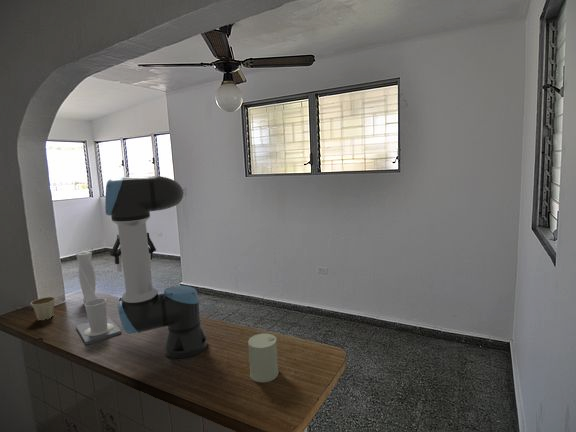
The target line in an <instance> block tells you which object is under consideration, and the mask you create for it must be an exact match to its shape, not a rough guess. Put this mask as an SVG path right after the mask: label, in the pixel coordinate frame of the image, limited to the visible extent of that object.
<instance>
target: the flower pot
mask: <svg viewBox="0 0 576 432" xmlns="http://www.w3.org/2000/svg"><path fill="white" fill-rule="evenodd" d="M55 300H56V297H54V296H47V297H41V298H38V299H34V300H33V301H31V302H30V305H31V307H32V309H34V313H35V316H36V320H37V319H38V320H37V321H39V320H41V321H46V320H45V319H47V320H49V319H48V318H50V319H51V317H52V316H53V317H54V309H55V308H54V307H55V306H54V304H55ZM53 317H52V318H53Z"/></svg>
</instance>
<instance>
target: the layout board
mask: <svg viewBox="0 0 576 432" xmlns="http://www.w3.org/2000/svg"><path fill="white" fill-rule="evenodd" d="M107 326H108V328H107V329H106V330H104V331H102V332H98V333H92V332H91V330H90V325H89V321H88V322H85V323H81V324H78V325H75V328H76V331H77V332H78V334H79V336H80V337H81V338H82V340H83V342H84V344H85V345H86V346H87V345H91V344H93V343H94V344H95V343H96V342H100V341H102V340H105V339H108V338H111V337H115V336H118V335H121V334H122V330H121V328H119V327H118V325H117V324H116V323H115V322H114V321H113V320H112V319H111V318H110V316H109V315H107Z"/></svg>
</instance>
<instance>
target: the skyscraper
mask: <svg viewBox="0 0 576 432" xmlns="http://www.w3.org/2000/svg"><path fill="white" fill-rule="evenodd" d="M87 249H91V251H88V250H87ZM75 255H76V256H75V257H76V259H77V262H78V279H79V284H80V288H81V292H82V295H83V301H84V302H85V303H86V302H88V301H91V300H94V299H98V297H97V296H96V283H97V281H96V273H95V269H94V266H93V264H92V256H93V247H85V248H83V250H82V251H80V252H78V253H76V254H75Z"/></svg>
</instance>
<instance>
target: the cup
mask: <svg viewBox="0 0 576 432" xmlns="http://www.w3.org/2000/svg"><path fill="white" fill-rule="evenodd" d="M84 309H85V312H86V316H87V320H88V322H89V325H90V330H91V332H92V333H98V332H102V331H104V330H106V329H107V328H108V326H107V317H108V313H107V311H108V310H107V299H106V298H97V299H94V300H91V301H88V302H85V303H84Z"/></svg>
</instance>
